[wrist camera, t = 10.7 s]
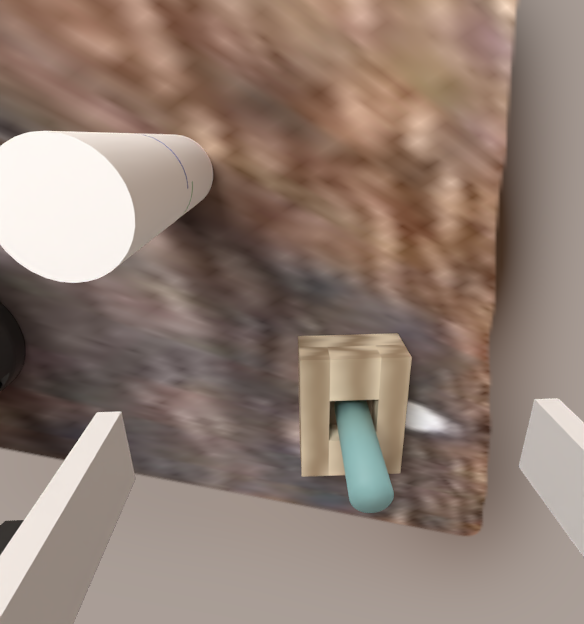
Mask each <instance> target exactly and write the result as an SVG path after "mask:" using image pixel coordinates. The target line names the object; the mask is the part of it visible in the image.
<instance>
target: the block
mask: <svg viewBox="0 0 584 624" xmlns="http://www.w3.org/2000/svg"><path fill="white" fill-rule="evenodd" d="M411 359H412V357H411V355H410V354H409V352H408V350H407V348H406V347H405V345H404V343H403V342H402V340H401V338H400V337H399V335H398V333H393V334H357V335H322V336H298V363H299V421H300V454H301V471H302V476H333V475H345V470H344V464H343V458H342V452H341V446H340V440H339V434H338V428H337V422H336V416H335V410H334V404H335V401H347V400H366V401H367V404H368V407H369V411H370V414H371V418H372V421H373V424H374V428H375V431H376V434H377V438H378V441H379V445H380V448H381V451H382V455H383V458H384V461H385V465H386V468H387V472H388V474H395V473H400V471H401V461H402V451H403V441H404V430H405V420H406V410H407V400H408V390H409V380H410V370H411Z"/></svg>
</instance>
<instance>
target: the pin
mask: <svg viewBox="0 0 584 624" xmlns="http://www.w3.org/2000/svg"><path fill="white" fill-rule="evenodd" d="M334 410H335V416H336V422H337V428H338V434H339V440H340V446H341V452H342V458H343V464H344V470H345V476H346V482H347V488H348V494H349V500H350V503H351V504H352V506H353V507H354V508H355V509H357V510H359V511H361V512H365V513H375V512H379V511H382V510H384V509H385V508H387V507H388V506H389V505H390V504H391V502H392V500H393V497H394V492H393V488H392V485H391V482H390V478H389V475H388V472H387V468H386V465H385V461H384V458H383V455H382V451H381V448H380V445H379V441H378V438H377V434H376V431H375V428H374V424H373V421H372V418H371V414H370V411H369V407H368V404H367V401H366V400H347V401H335V404H334Z"/></svg>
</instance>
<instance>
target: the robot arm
mask: <svg viewBox="0 0 584 624" xmlns="http://www.w3.org/2000/svg"><path fill="white" fill-rule="evenodd" d="M24 358H25V345H24V340H23V336H22V333H21V331H20V328H19V326H18V324H17V323H16V321H15V319H14V318H13V316H12V315H11V314H10V312H9V311H8V310H7V309H6V308H5V307H4V306H3V305H2V304H1V303H0V391H1V390H3V389H4V388H5V387H6V386H7V385H8V384H9V383H11V382H12V381H13V380H14V379H15V378H16V376H17V375H18V374H19V372H20V370H21V368H22V366H23V363H24ZM519 468H520V470H521V471H522V472H523V474H524V475H525V476H526V478H527V479H528V481H529V482H530V483H531V485H532V486H533V488H534V489H535V490H536V492H537V493H538V495H539V496H540V497H541V498H542V500H543V502H544V503H545V504H546V506H547V507H548V509H549V510H550V511H551V513H552V514H553V516H554V517H555V518H556V520H557V521H558V522H559V524H560V525H561V527H562V528H563V529H564V531H565V532H566V534H567V535H568V536H569V538H570V539H571V541H572V542H573V543H574V545H575V546H576V547H577V549H578V550H579V552H580V553H581V554H582V556H583V557H584V422H583V421H582V420H581V419H580V418H578V417H577V416H576V415H575V414H574V413H573V412H572V411H571V410H570V409H569V408H568V407H567V406H566V405H565V404H564V403H563V402H562V401H561V400H559V399H558V398H557V399H556V398H555V399H534V403H533V407H532V412H531V416H530V420H529V425H528V429H527V433H526V437H525V442H524V446H523V450H522V455H521V459H520V463H519ZM134 482H135V474H134V469H133V465H132V460H131V455H130V450H129V446H128V441H127V436H126V431H125V427H124V422H123V417H122V412H97V413H96V414H95V416H94V417H93V419H92V420H91V422H90V423H89V425H88V426H87V428H86V429H85V431H84V432H83V434H82V435H81V437H80V438H79V440H78V441H77V443H76V444H75V446H74V447H73V448H72V450H71V451H70V453H69V454H68V456H67V457H66V459H65V460H64V462H63V463H62V465H61V466H60V468H59V469H58V471H57V472H56V474H55V475H54V477H53V478H52V480H51V481H50V483H49V484H48V485H47V487H46V488H45V490H44V491H43V493H42V494H41V496H40V497H39V499H38V500H37V502H36V503H35V505H34V506H33V508H32V509H31V511H30V512H29V514H28V515H27V517H26V518H25V520H17V521H5V522H4V523H3V524H2V525H0V624H73V623H74V621H75V619H76V616H77V614H78V612H79V609H80V607H81V605H82V602H83V600H84V598H85V595H86V593H87V591H88V588H89V586H90V584H91V581H92V579H93V577H94V574H95V572H96V570H97V567H98V565H99V563H100V560H101V558H102V556H103V554H104V551H105V549H106V547H107V544H108V542H109V540H110V537H111V535H112V533H113V530H114V528H115V526H116V523H117V521H118V519H119V516H120V514H121V512H122V509H123V507H124V504H125V502H126V500H127V497H128V495H129V493H130V491H131V488H132V486H133V484H134Z"/></svg>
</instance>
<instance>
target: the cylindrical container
mask: <svg viewBox="0 0 584 624" xmlns="http://www.w3.org/2000/svg"><path fill="white" fill-rule="evenodd" d="M212 182H213V168H212V164H211V161H210V158H209V157H208V155H207V153H206V152H205V150H204V149H203V148H202V147H201V146H200V145H199V144H198V143H197V142H196V141H194V140H192V139H190V138H188V137H185V136H182V135H168V134H133V133H99V132H64V131H37V132H28V133H25V134H22V135H18V136H15V137H14V138H12V139H10V140H9V141H7V142H5V143H4V144H2V145H1V146H0V244H1V246H2V247H3V248H4V250H5V251H6V252H7V253H8V254H9V255H10V256H11V257H13V258H14V259H15V260H16V261H17V262H18V263H20V264H21V265H23V266H24V267H26V268H27V269H28V270H30V271H32V272H34V273H36V274H38V275H40V276H43V277H45V278H48V279H52V280H56V281H59V282H70V283H78V282H87V281H91V280H94V279H98V278H100V277H102V276H104V275H106V274H108V273H110V272H111V271H112V270H113V269H115V268H116V267H117V266H119V265H120V264H121V263H122V262H124V261H125V260H126V259H128V258H129V257H130V256H131V255H133V254H134V253H135V252H137V251H138V250H139V249H140V248H142V247H143V246H144V245H146V244H147V243H148V242H149V241H151V240H152V239H153V238H155V237H156V236H157V235H158V234H160V233H161V232H162V231H164V230H165V229H166V228H167V227H169V226H170V225H171V224H173V223H174V222H175V221H176V220H177V219H179V218H180V217H181V216H183V215H184V214H185V213H186V212H188V211H189V210H190V209H192V208H193V207H194V206H195V205H197V204H198V203H199V202H200V201H202V200H203V199H204V198H205V197H206V195H207V194H208V193H209V191H210V188H211V186H212Z"/></svg>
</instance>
